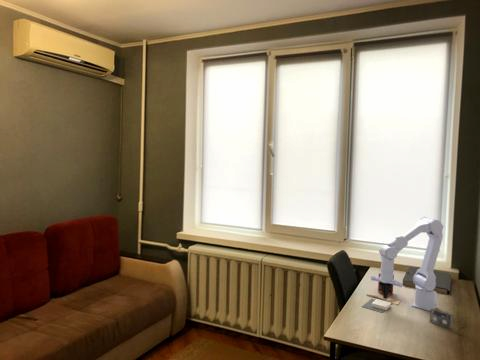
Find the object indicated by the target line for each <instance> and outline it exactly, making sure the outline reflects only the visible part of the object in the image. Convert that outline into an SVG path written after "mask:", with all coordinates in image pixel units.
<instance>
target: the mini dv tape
mask: <svg viewBox="0 0 480 360" xmlns="http://www.w3.org/2000/svg"><path fill="white" fill-rule="evenodd" d="M452 317H453V316H452V314H451V313H447V312H443V311H440V310H437V309H430V311H429V323H432V324H435V325H437V326H440V327H444V328H446V329H451V328H452V327H451V326H452Z"/></svg>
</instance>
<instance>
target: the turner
mask: <svg viewBox="0 0 480 360" xmlns="http://www.w3.org/2000/svg"><path fill="white" fill-rule="evenodd" d="M366 296H367V297H371V298H373V299H378V300H382V301H386V302H390V303H391V305H395V306H397V305H399V304H400V303H401V301H400V300H396V299H392V298H389V297H388V298H387V299H385V298H383V297H382V296H378V295H375V294H371V293H366Z"/></svg>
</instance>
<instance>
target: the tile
mask: <svg viewBox="0 0 480 360" xmlns="http://www.w3.org/2000/svg"><path fill="white" fill-rule="evenodd" d="M375 299H376V300H375V301H374V302H373V303H372V307H376V308H379V309H383V310H385V311H387V310H388V309H389V308H390V307H391V306H392V304H391V303H390V302H386V301H385V300H381V299H378V298H375Z"/></svg>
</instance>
